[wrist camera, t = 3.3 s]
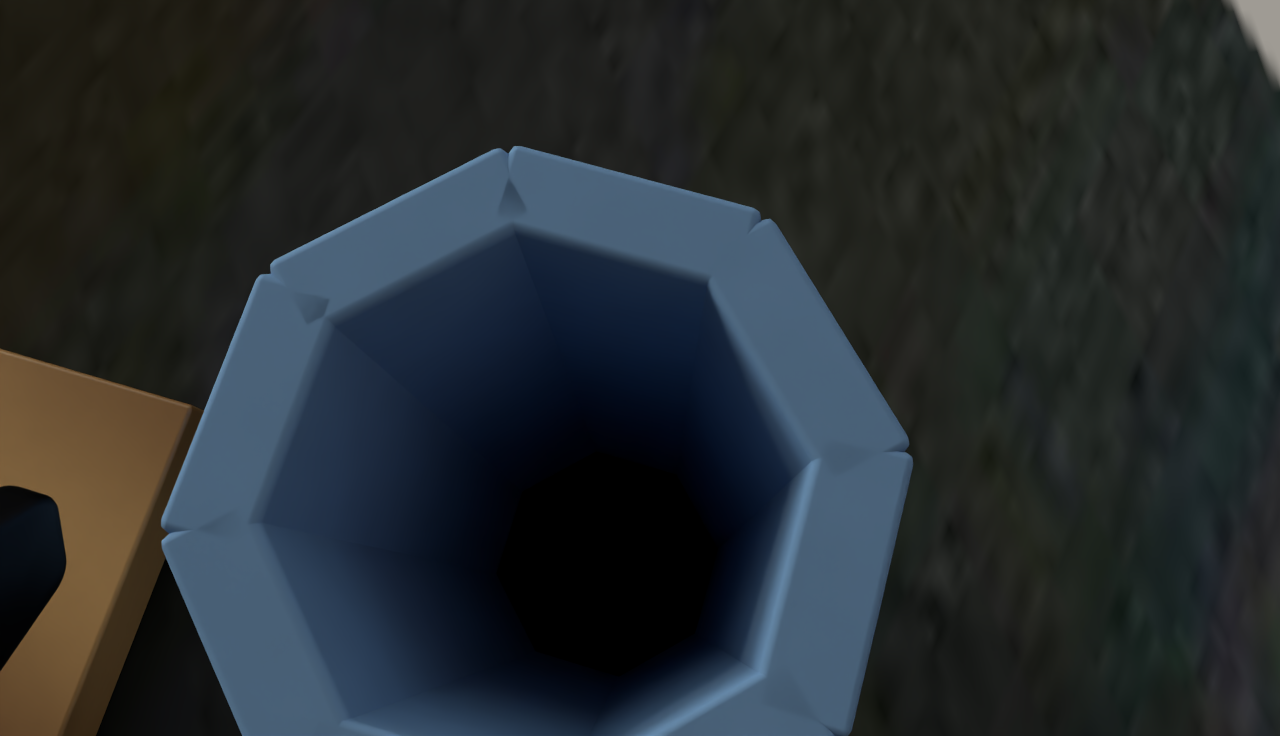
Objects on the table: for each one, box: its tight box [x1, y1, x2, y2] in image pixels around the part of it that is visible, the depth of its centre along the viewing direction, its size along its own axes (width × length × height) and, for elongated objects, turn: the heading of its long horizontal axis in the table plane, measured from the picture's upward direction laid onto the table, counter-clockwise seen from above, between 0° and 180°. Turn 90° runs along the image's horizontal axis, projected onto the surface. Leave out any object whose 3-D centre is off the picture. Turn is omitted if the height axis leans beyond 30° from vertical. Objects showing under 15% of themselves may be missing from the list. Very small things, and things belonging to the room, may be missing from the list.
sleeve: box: [161, 146, 913, 736], centre depth 12 cm, size 5×5×11 cm
